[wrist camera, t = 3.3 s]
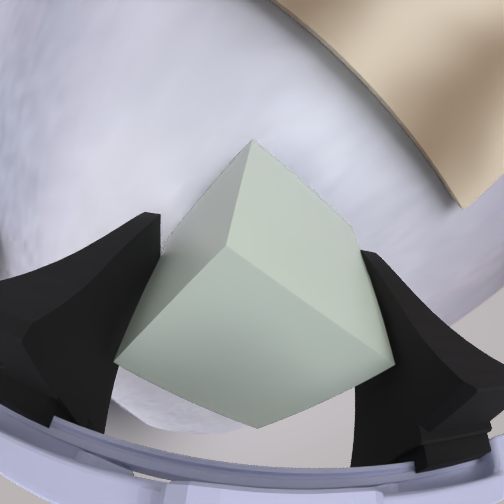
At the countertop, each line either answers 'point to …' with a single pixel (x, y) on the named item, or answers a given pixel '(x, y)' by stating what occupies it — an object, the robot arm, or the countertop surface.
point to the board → (427, 75)
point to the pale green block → (258, 300)
